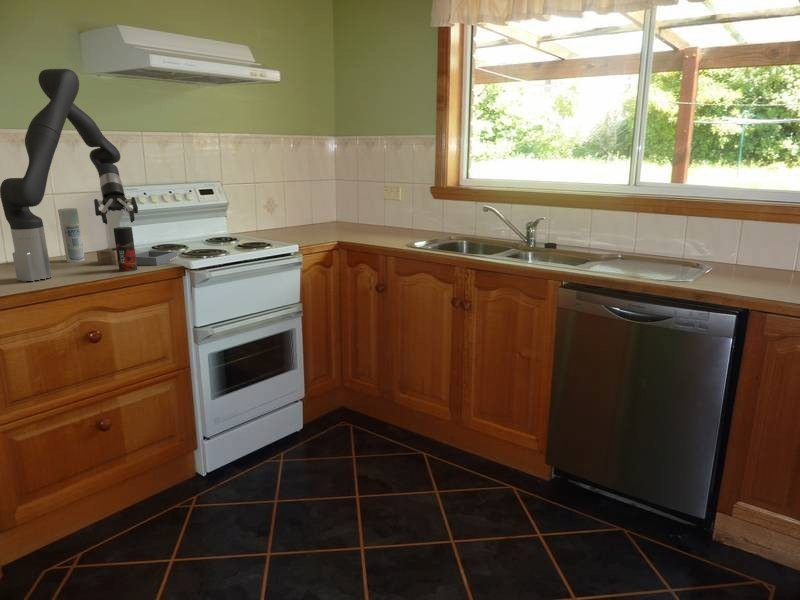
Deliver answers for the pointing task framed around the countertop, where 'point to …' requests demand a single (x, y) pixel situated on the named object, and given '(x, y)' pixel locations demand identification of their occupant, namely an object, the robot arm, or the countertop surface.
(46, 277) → the robot arm
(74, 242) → the spray can
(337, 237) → the countertop surface
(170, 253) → the tray
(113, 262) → the brown square block
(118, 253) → the deodorant
